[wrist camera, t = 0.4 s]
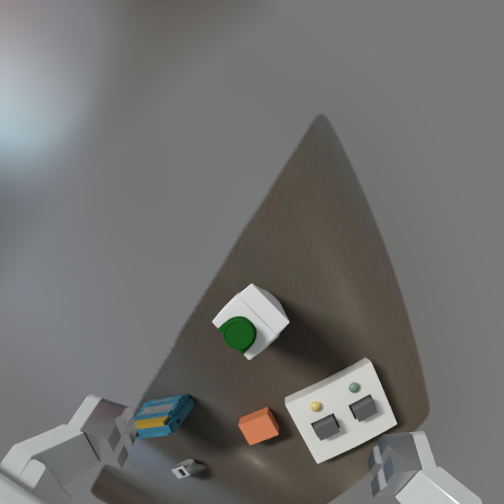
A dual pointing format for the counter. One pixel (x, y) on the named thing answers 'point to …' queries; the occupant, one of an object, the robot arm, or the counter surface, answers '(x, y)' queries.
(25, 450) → the robot arm
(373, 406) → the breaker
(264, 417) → the cap
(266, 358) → the counter surface
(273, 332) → the milk carton
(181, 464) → the wristwatch
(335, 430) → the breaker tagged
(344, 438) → the box
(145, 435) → the handheld gaming console
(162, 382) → the counter surface
